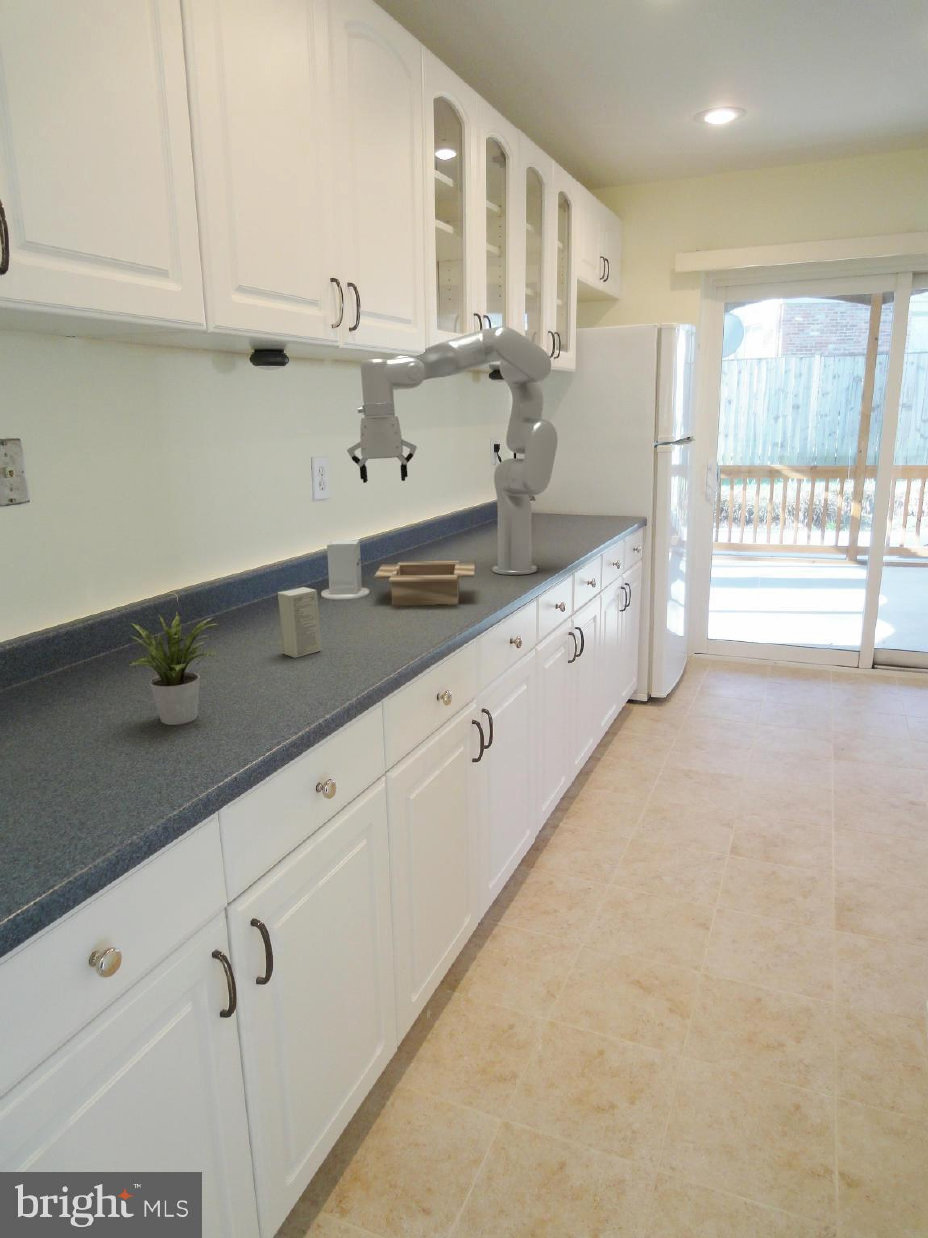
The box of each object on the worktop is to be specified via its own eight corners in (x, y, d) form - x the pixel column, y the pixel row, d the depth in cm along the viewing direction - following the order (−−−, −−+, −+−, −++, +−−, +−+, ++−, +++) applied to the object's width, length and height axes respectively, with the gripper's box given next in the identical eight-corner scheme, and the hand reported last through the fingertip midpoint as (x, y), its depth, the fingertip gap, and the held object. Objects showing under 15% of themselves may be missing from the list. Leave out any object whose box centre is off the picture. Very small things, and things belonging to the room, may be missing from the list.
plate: (326, 589, 211) (326, 586, 211) (372, 589, 211) (371, 586, 211) (317, 599, 200) (317, 596, 199) (365, 599, 199) (365, 596, 199)
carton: (384, 588, 212) (383, 561, 210) (475, 587, 211) (474, 560, 209) (373, 609, 189) (371, 579, 187) (474, 608, 188) (474, 578, 187)
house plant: (246, 724, 119) (236, 616, 115) (147, 746, 112) (133, 631, 108) (217, 697, 131) (207, 599, 127) (126, 715, 123) (113, 611, 119)
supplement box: (358, 594, 201) (355, 543, 198) (328, 594, 202) (325, 544, 199) (362, 588, 209) (360, 539, 206) (334, 588, 209) (331, 539, 206)
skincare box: (308, 647, 159) (304, 586, 156) (322, 651, 155) (318, 589, 152) (281, 654, 154) (276, 591, 151) (294, 658, 151) (289, 595, 148)
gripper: (341, 413, 196) (347, 484, 201) (413, 409, 196) (417, 481, 200) (346, 412, 203) (352, 481, 208) (415, 409, 203) (419, 478, 207)
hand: (384, 481), depth 204 cm, fingers open, 9 cm apart
